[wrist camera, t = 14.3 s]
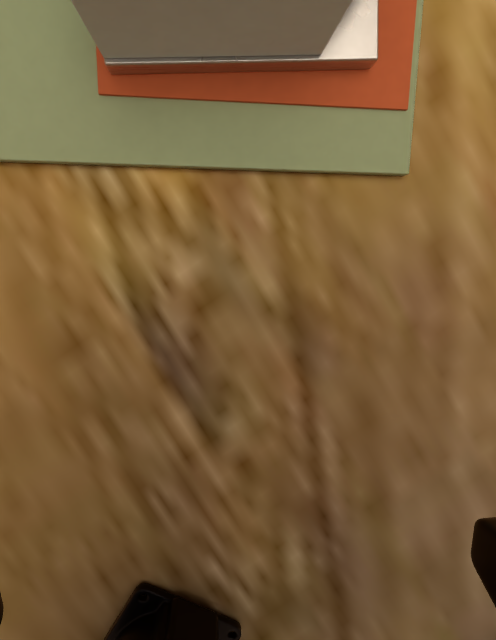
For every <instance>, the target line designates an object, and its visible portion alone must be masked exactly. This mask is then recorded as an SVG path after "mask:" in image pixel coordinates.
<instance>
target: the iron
mask: <svg viewBox="0 0 496 640" xmlns="http://www.w3.org/2000/svg"><path fill="white" fill-rule="evenodd" d="M71 1H72V3H73V5H74V7H75V8H76V10H77V12H78V14H79V15H80V17H81V19H82V21H83V22H84V24H85V26H86V28H87V29H88V31H89V33H90V35H91V36H92V38H93V40H94V42H95V43H96V45H97V47H98V49H99V50H100V52H101V54H102V56H103V58H104V62H105V65H106V67H107V68H108V70H109V72H110V74H112V75H115V74H164V73H213V72H262V71H311V70H360V69H370V68H371V67H372V66H373V64H374V63H375V62H376V61H377V60H378V0H71Z"/></svg>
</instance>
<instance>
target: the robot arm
mask: <svg viewBox="0 0 496 640" xmlns="http://www.w3.org/2000/svg"><path fill="white" fill-rule="evenodd" d="M471 558H472V562H473V565H474V567H475V569H476V571H477V573H478V575H479V577H480V579H481V580H482V582H483V584H484V586H485V588H486V590H487V592H488V594H489V596H490V598H491V599H492V601H493V603H494V605H495V607H496V517H492V518H482V519H478V520H477V521H476V523H475V526H474V533H473V541H472V548H471ZM141 594H146V595H141ZM2 617H3V602H2V597H1V593H0V624H1V621H2ZM230 631H234V632H230ZM240 637H241V626H240V624H239V623H238V622H237V621H235V620H232V619H230V618H227V617H225V616H223V615H220V614H218V613H216V612H213V611H211V610H209V609H206V608H204V607H201V606H199V605H197V604H194V603H192V602H190V601H187V600H185V599H183V598H180V597H178V596H175V595H173V594H171V593H168V592H166V591H164V590H161V589H159V588H157V587H154V586H152V585H149V584H146V583H144V584H140V585H138V586H137V587H136V588H135V590H134V592H133V593H132V595H131V596H130V598H129V600H128V601H127V603H126V604H125V606H124V608H123V609H122V611H121V613H120V614H119V616H118V617H117V619H116V621H115V622H114V624H113V625H112V627H111V629H110V630H109V632H108V634H107V635H106V637H105V638H104V640H239V639H240Z"/></svg>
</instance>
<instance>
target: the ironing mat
mask: <svg viewBox="0 0 496 640" xmlns="http://www.w3.org/2000/svg"><path fill="white" fill-rule="evenodd" d="M422 12H423V0H378V60H377V61H376V62H375V63H374V64H373V66H372V67H371V68H370V69H360V70H311V71H262V72H213V73H164V74H115V75H112V74H110V72H109V70H108V68H107V67H106V65H105V62H104V58H103V56H102V54H101V52H100V50H99V49H98V47H97V45H96V43H95V42H94V40H93V38H92V36H91V35H90V33H89V31H88V29H87V28H86V26H85V24H84V22H83V21H82V19H81V17H80V15H79V14H78V12H77V10H76V8H75V7H74V5H73V3H72V1H71V0H0V162H20V163H49V164H78V165H107V166H136V167H165V168H193V169H222V170H251V171H280V172H309V173H338V174H366V175H395V176H404V175H407V174H409V165H410V153H411V141H412V130H413V118H414V106H415V94H416V83H417V71H418V59H419V47H420V35H421V24H422Z"/></svg>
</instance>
